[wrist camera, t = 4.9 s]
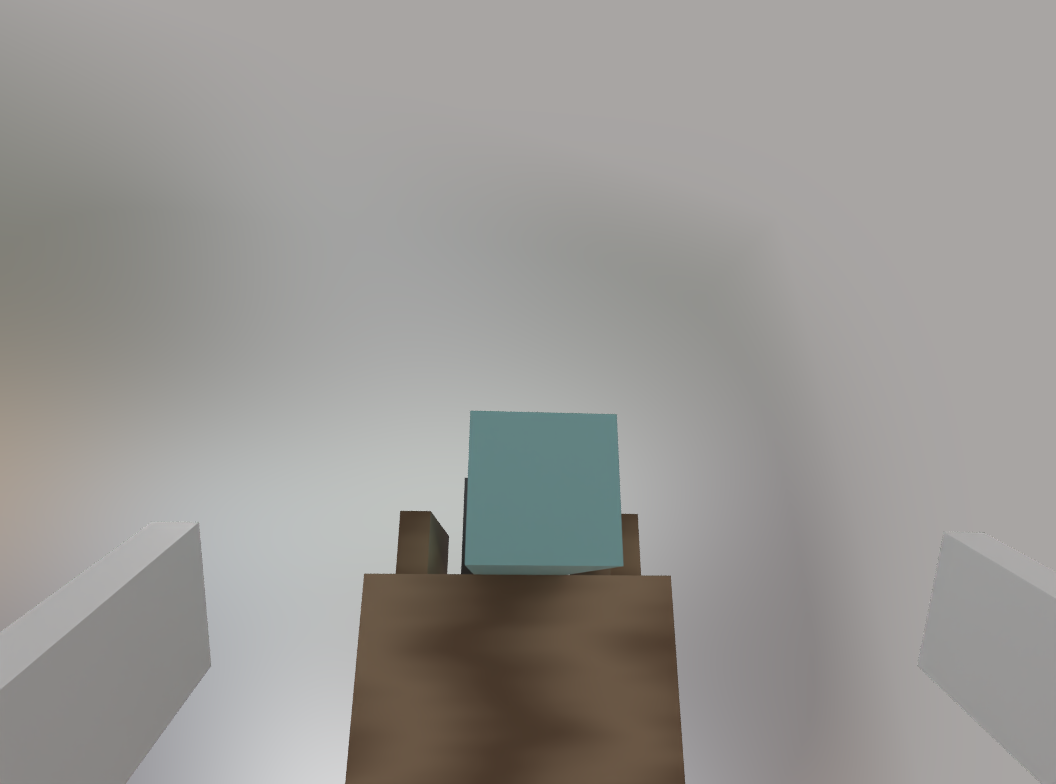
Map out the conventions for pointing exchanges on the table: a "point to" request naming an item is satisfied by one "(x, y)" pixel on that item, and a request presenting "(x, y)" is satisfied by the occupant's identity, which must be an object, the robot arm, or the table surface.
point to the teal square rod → (542, 494)
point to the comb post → (514, 673)
